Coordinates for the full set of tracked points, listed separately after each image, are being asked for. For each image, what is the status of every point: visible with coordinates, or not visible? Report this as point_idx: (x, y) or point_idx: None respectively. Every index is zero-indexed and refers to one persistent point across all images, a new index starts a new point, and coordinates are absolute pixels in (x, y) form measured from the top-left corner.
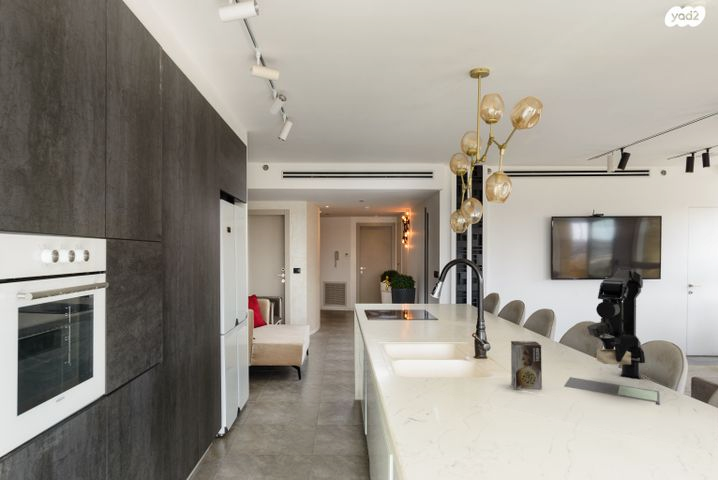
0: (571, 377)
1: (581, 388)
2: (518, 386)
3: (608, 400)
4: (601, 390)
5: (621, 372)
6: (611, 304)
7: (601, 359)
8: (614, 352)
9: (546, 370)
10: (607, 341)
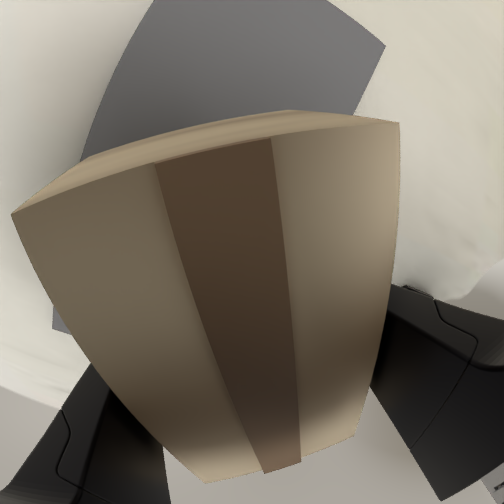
0: (381, 49)
1: (170, 9)
2: None
3: (19, 122)
4: (150, 113)
5: (428, 296)
6: None
7: (172, 133)
8: (122, 395)
9: (460, 26)
10: (475, 422)
